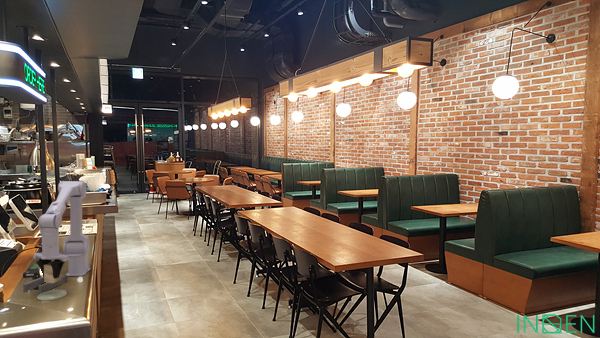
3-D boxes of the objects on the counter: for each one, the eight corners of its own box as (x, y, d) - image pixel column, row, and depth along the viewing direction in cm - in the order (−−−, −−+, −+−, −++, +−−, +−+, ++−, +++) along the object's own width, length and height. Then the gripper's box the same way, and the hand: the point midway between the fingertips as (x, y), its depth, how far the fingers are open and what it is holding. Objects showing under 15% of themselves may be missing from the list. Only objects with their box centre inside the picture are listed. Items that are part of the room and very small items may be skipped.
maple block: (52, 278, 159) (51, 262, 158) (60, 279, 158) (60, 262, 157) (44, 282, 155) (43, 265, 154) (52, 283, 154) (52, 265, 153)
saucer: (44, 291, 160) (44, 290, 160) (70, 290, 162) (70, 288, 162) (32, 301, 150) (31, 299, 150) (60, 300, 152) (59, 298, 152)
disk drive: (48, 277, 178) (58, 266, 192) (48, 271, 178) (58, 261, 192) (22, 279, 175) (34, 268, 189) (22, 273, 175) (34, 262, 189)
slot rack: (50, 279, 173) (50, 273, 173) (67, 281, 172) (66, 274, 171) (23, 291, 160) (23, 284, 160) (41, 293, 158) (40, 286, 158)
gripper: (26, 245, 152) (27, 279, 153) (58, 247, 149) (59, 282, 150) (41, 240, 159) (42, 273, 160) (72, 243, 156) (73, 276, 157)
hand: (51, 277), depth 156 cm, fingers closed on maple block, 4 cm apart
